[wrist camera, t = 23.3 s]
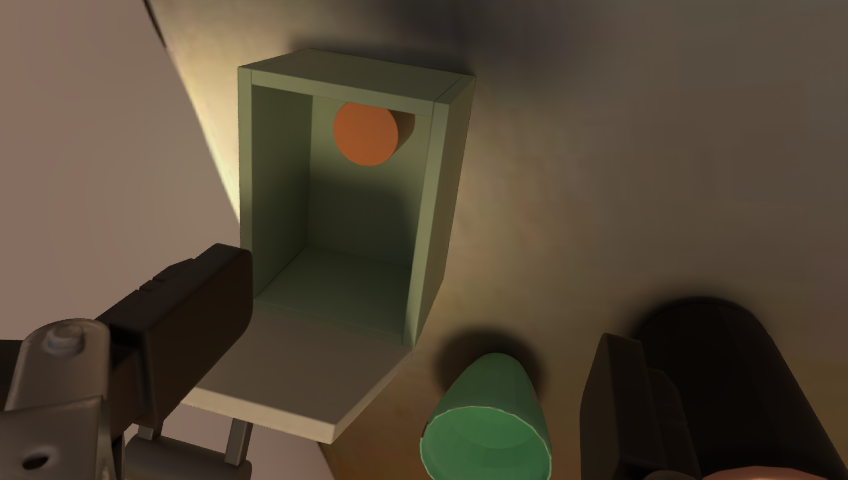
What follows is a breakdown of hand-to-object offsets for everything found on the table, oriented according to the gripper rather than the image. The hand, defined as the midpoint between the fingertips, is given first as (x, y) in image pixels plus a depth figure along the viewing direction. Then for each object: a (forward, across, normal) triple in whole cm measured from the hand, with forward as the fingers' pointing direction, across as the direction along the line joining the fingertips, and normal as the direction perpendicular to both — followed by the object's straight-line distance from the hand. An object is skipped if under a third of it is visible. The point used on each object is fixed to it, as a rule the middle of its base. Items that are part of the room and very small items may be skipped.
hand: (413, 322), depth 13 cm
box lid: (+12, +10, +12) cm, 20 cm away
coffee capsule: (+30, +9, +4) cm, 32 cm away
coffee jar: (+31, -18, +18) cm, 40 cm away
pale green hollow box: (+31, +10, +8) cm, 33 cm away
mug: (+31, -4, +27) cm, 42 cm away
